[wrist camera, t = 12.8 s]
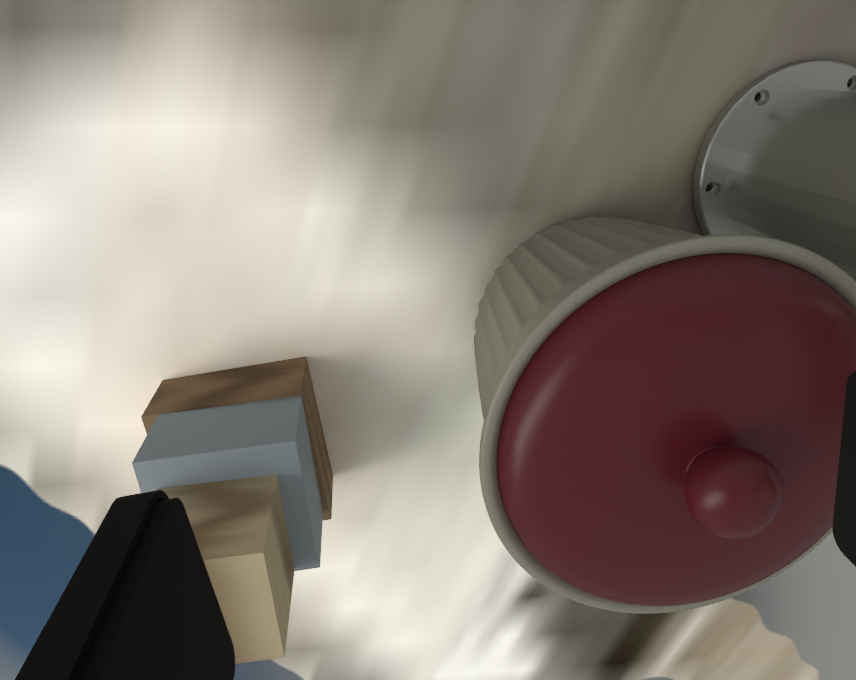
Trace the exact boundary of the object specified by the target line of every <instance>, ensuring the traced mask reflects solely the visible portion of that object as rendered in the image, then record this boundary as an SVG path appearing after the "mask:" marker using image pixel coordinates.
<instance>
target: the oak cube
mask: <svg viewBox="0 0 856 680" xmlns="http://www.w3.org/2000/svg"><path fill="white" fill-rule="evenodd" d="M156 490H162V491H164V492H165V493H166V494H167V496H168V497H169V499H172V498H179V499H180V500H181V501H182V503H183V505H184V507H185V510H186V513H187V516H188V518H189V521H190V524H191V527H192V530H193V532H194V535H195V538H196V541H197V544H198V547H199V549H200V552H201V555H202V558H203V561H204V564H205V566H206V569H207V572H208V575H209V578H210V580H211V583H212V586H213V589H214V592H215V595H216V597H217V600H218V603H219V606H220V609H221V611H222V614H223V617H224V620H225V623H226V626H227V628H228V631H229V634H230V637H231V640H232V643H233V646H234V652H235V664H236V663H244V662H252V661H259V660H266V659H274V658H281V657H285V648H286V639H287V630H288V621H289V612H290V603H291V594H292V585H293V576H294V563H293V558H292V553H291V547H290V542H289V536H288V531H287V525H286V520H285V514H284V509H283V503H282V498H281V493H280V487H279V482H278V476H277V475H268V476H260V477H252V478H243V479H235V480H226V481H218V482H209V483H201V484H193V485H184V486H176V487H168V488H159V489H156Z"/></svg>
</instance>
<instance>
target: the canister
mask: <svg viewBox="0 0 856 680" xmlns="http://www.w3.org/2000/svg"><path fill="white" fill-rule="evenodd" d="M475 330H476V334H475V337H474V348H475V358H476V367H477V376H478V385H479V393H480V400H481V406H482V412H483V418H484V425H483V430H482V435H481V442H480V455H479V469H480V481H481V488H482V494H483V498H484V502H485V505H486V509H487V512H488V515H489V517H490V520H491V522H492V525H493V527H494V529H495V531H496V533H497V535H498V537H499V538H500V540H501V542H502V543H503V545H504V546H505V548H506V549H507V551H508V552H509V553H510V554H511V556H512V557H513V558H514V559H515V560H516V562H517V563H518V564H519V565H520V566H521V567H522V568H523V569H524V570H525V571H527V572H528V573H529V574H530V575H531V576H532V577H534V578H535V579H536V580H538V581H539V582H540V583H542V584H543V585H545V586H546V587H548V588H550V589H551V590H553V591H555V592H557V593H558V594H561V595H563V596H565V597H567V598H569V599H572V600H574V601H577V602H579V603H582V604H586V605H589V606H592V607H596V608H600V609H605V610H610V611H616V612H625V613H666V612H675V611H682V610H688V609H693V608H698V607H702V606H706V605H709V604H713V603H716V602H719V601H723V600H725V599H728V598H731V597H734V596H736V595H739V594H741V593H743V592H746V591H748V590H750V589H752V588H754V587H756V586H758V585H760V584H762V583H764V582H766V581H768V580H770V579H771V578H773V577H775V576H777V575H778V574H780V573H781V572H783V571H784V570H786V569H788V568H789V567H790V566H792V565H793V564H795V563H796V562H798V561H799V560H800V559H802V558H803V557H804V556H806V555H807V554H808V553H809V552H811V551H812V550H813V549H814V548H815V547H816V546H817V545H819V544H820V543H821V542H822V541H823V540H824V539H825V538H826V537H827V536H828V535H829V534H830V533H831V532H832V531H833V516H834V505H835V495H836V485H837V475H838V465H839V455H840V445H841V435H842V425H843V415H844V405H845V395H846V385H847V380H848V377H849V376H850V374H852V373H853V372H856V281H855V280H854V279H853V278H852V277H851V276H849V275H848V274H847V273H846V272H845V271H843V270H842V269H841V268H840V267H838V266H837V265H835V264H834V263H832V262H831V261H829V260H827V259H826V258H824V257H822V256H820V255H818V254H816V253H814V252H812V251H810V250H808V249H805V248H803V247H800V246H798V245H795V244H792V243H789V242H786V241H782V240H778V239H774V238H769V237H763V236H756V235H745V234H717V235H705V236H701V235H697V234H693V233H690V232H686V231H682V230H678V229H673V228H669V227H665V226H660V225H655V224H650V223H645V222H640V221H634V220H627V219H622V218H617V217H604V218H599V217H586V218H584V219H579V220H575V219H571V220H568V221H566V222H565V223H563V224H559V225H552V226H550V227H549V228H548V229H546V230H545V231H542V232H540V233H536V234H534V235H533V237H532V238H530V239H529V240H528V241H526V242H524V243H521V244H520V245H519V246H518V248H517V249H516V250H515V251H514V252H513V253H511V254H510V255H508V256H507V257H506V259H505V261H504V262H503V264H502V265H501V266H500V267H499V268H498V269H496V270H495V272H494V276H493V278H492V279H491V281H490V282H489V283H488V284H487V286H486V288H485V294H484V296H483V298H482V299H481V301H480V303H479V312H478V316H477V318H476V320H475Z"/></svg>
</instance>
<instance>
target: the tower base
mask: <svg viewBox="0 0 856 680" xmlns="http://www.w3.org/2000/svg"><path fill="white" fill-rule="evenodd" d="M296 396H302V401H303V406H304V412H305V417H306V423H307V428H308V433H309V439H310V444H311V450H312V455H313V461H314V466H315V472H316V477H317V482H318V488H319V493H320V499H321V504H322V510H323V517H322V520H328V519H331V511H332V484H333V474H332V470H331V465H330V461H329V457H328V452H327V448H326V443H325V439H324V434H323V430H322V425H321V421H320V416H319V412H318V407H317V403H316V398H315V394H314V389H313V385H312V380H311V376H310V371H309V367H308V362H307V358H306V357H300V358H294V359H288V360H282V361H276V362H270V363H264V364H258V365H252V366H246V367H240V368H234V369H228V370H222V371H216V372H210V373H204V374H198V375H192V376H186V377H180V378H174V379H168V380H163V381H162V382H161V384H160V386H159V388H158V389H157V391H156V393H155V394H154V396H153V398H152V400H151V401H150V403H149V405H148V406H147V408H146V410H145V411H144V413H143V415H142V420H143V423H144V426H145V429H146V432H147V435H148V433H149V431H150V429H151V427H152V425H153V424H154V422H155V420H156V418H157V416H158V414H166V413H173V412H181V411H189V410H196V409H204V408H212V407H219V406H227V405H235V404H242V403H250V402H257V401H265V400H273V399H280V398H288V397H296Z"/></svg>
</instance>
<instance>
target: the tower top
mask: <svg viewBox="0 0 856 680" xmlns="http://www.w3.org/2000/svg"><path fill="white" fill-rule="evenodd" d="M132 464H133V467H134V470H135V473H136V477H137V480H138V483H139V487H140V490H141V493H146V492H151V491H156V489H159V488H168V487H176V486H184V485H193V484H201V483H209V482H218V481H226V480H235V479H243V478H252V477H260V476H268V475H277V476H278V482H279V487H280V493H281V498H282V503H283V509H284V514H285V520H286V525H287V531H288V536H289V542H290V547H291V553H292V558H293V563H294V571H297V570H304V569H311V568H318V567H320V553H321V535H322V517H323V510H322V504H321V499H320V493H319V488H318V482H317V477H316V472H315V466H314V461H313V455H312V450H311V444H310V439H309V433H308V428H307V423H306V417H305V412H304V406H303V401H302V396H296V397H288V398H280V399H273V400H265V401H257V402H250V403H242V404H235V405H227V406H219V407H212V408H204V409H196V410H189V411H181V412H173V413H166V414H158V416H157V418H156V420H155V422H154V424H153V425H152V427H151V429H150V431H149V433H148V435H147V436H146V438H145V440H144V442H143V444H142V446H141V448H140V449H139V451H138V453H137V455H136V457H135V459H134V461H133V462H132Z"/></svg>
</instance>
